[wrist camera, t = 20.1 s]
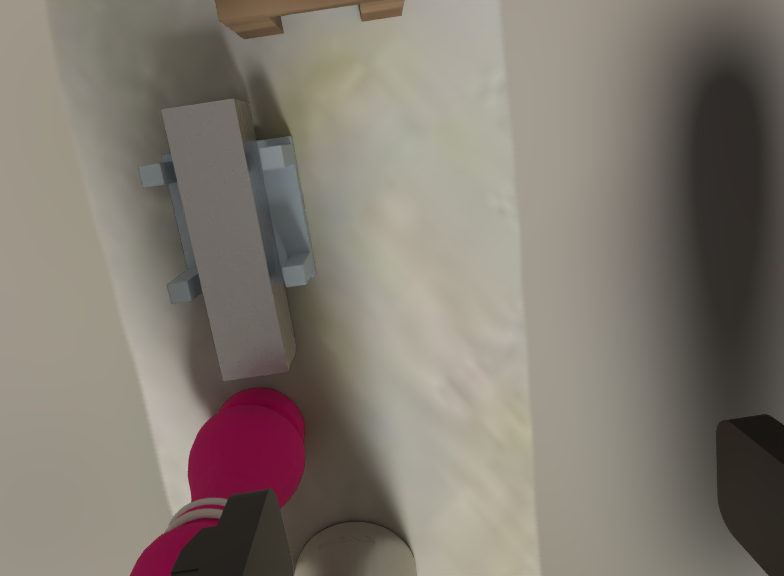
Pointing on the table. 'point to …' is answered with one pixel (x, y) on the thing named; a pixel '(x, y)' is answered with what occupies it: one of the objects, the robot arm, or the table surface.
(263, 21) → the wooden arch block
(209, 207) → the steel bar
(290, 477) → the pepper mill
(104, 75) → the table surface
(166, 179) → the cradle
